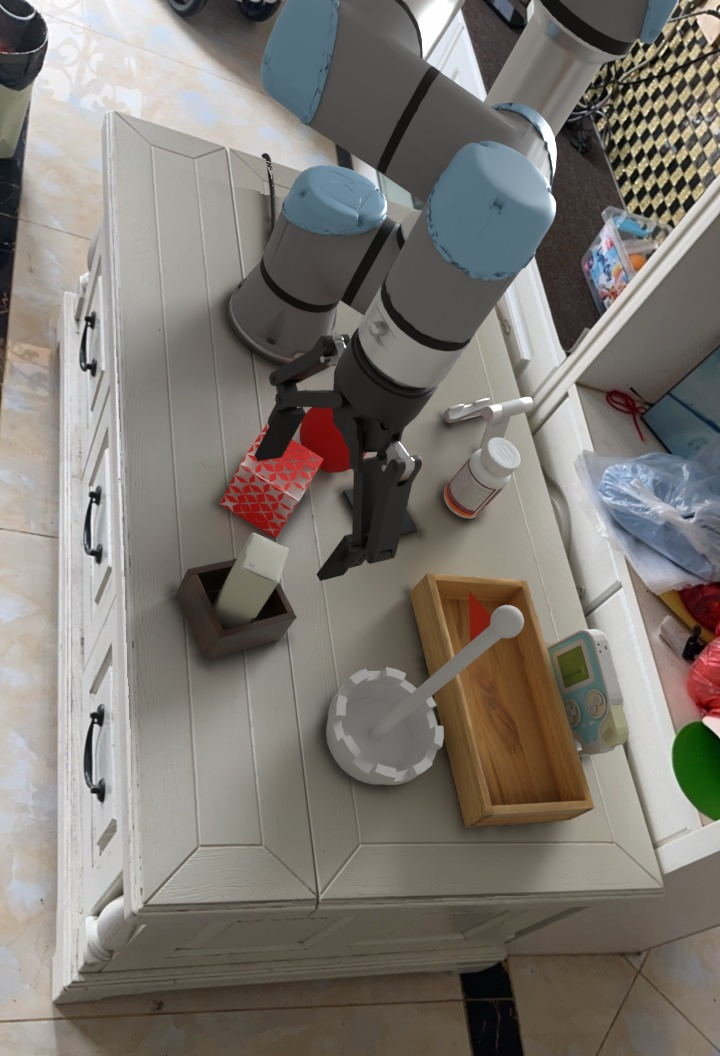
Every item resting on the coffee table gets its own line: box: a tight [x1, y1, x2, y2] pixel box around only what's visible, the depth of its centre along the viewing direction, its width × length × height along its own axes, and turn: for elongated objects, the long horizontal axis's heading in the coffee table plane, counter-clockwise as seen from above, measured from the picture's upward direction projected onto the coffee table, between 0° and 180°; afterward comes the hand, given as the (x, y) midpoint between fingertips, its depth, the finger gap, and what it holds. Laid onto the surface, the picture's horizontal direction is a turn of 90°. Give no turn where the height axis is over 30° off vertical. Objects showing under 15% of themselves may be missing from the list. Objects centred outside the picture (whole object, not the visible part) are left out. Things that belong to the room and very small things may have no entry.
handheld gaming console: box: [546, 628, 630, 758], centre depth 110 cm, size 11×3×15 cm
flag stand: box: [325, 591, 524, 786], centre depth 88 cm, size 13×13×30 cm
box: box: [212, 532, 290, 630], centre depth 94 cm, size 5×4×13 cm
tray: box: [409, 572, 596, 829], centre depth 107 cm, size 31×15×6 cm, turn 11°
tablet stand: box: [443, 396, 534, 449], centre depth 129 cm, size 9×8×8 cm
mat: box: [342, 488, 419, 537], centre depth 116 cm, size 8×8×1 cm
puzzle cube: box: [219, 423, 323, 539], centre depth 106 cm, size 8×8×8 cm
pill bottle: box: [443, 438, 521, 519], centre depth 120 cm, size 6×6×11 cm
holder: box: [174, 557, 297, 662], centre depth 97 cm, size 9×10×6 cm
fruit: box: [299, 407, 367, 474], centre depth 113 cm, size 9×9×10 cm
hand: (298, 514), depth 83 cm, fingers open, 13 cm apart
